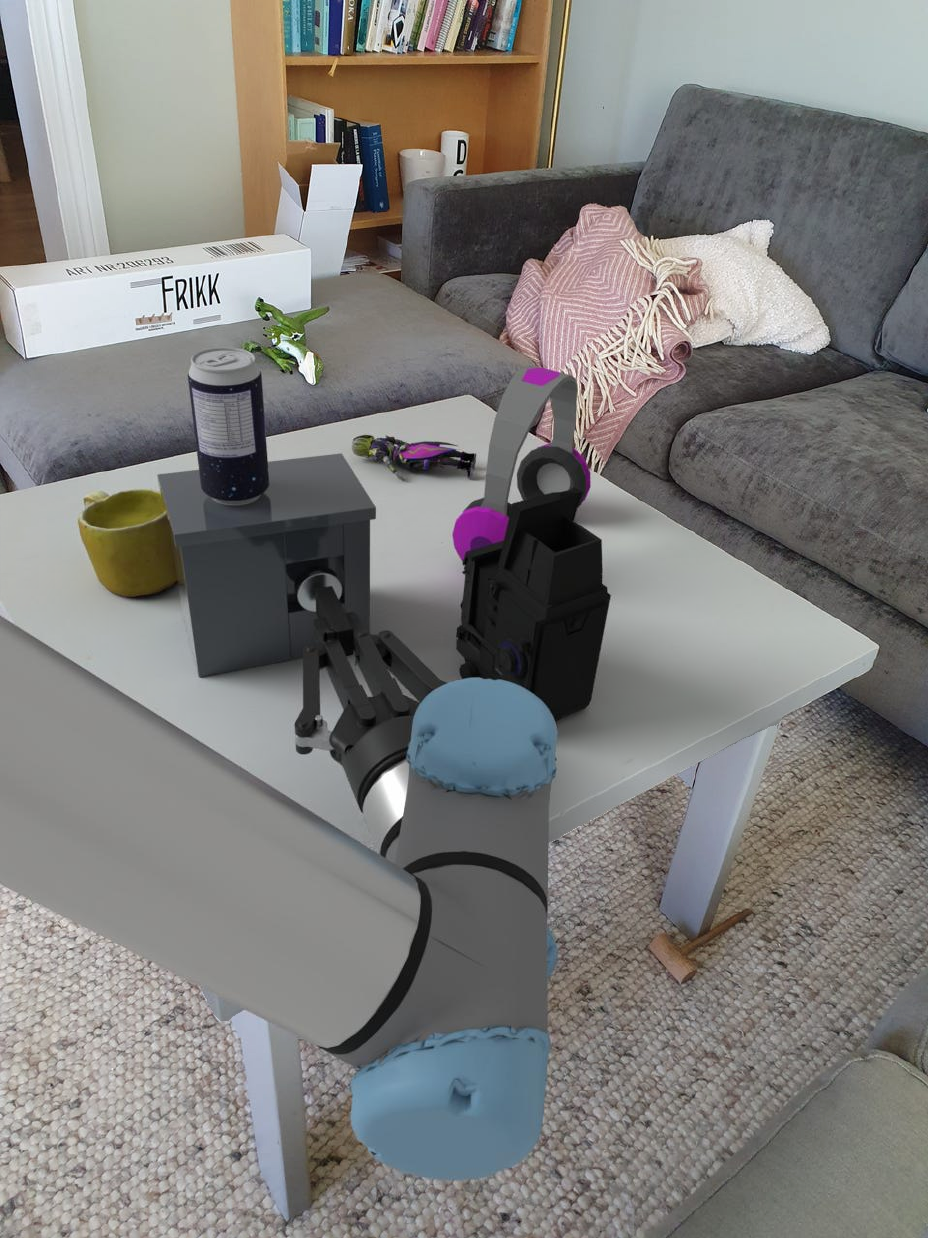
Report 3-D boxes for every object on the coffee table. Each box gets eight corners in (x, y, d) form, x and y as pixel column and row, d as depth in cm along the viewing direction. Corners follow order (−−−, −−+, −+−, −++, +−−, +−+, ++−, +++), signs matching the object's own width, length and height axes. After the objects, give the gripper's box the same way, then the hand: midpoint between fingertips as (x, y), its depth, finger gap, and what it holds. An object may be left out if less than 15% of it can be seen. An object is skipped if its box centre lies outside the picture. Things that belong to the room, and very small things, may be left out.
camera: (514, 629, 91) (535, 443, 79) (603, 708, 82) (642, 512, 70) (429, 659, 86) (438, 467, 74) (513, 747, 77) (540, 544, 66)
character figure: (477, 460, 122) (359, 441, 122) (480, 434, 119) (360, 415, 120) (467, 493, 114) (342, 472, 115) (470, 466, 112) (343, 445, 113)
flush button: (298, 615, 81) (296, 577, 78) (294, 606, 82) (292, 569, 79) (342, 607, 82) (341, 570, 80) (338, 599, 83) (337, 562, 81)
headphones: (517, 596, 96) (538, 417, 84) (443, 570, 99) (454, 394, 87) (590, 514, 111) (617, 353, 99) (525, 494, 114) (543, 336, 102)
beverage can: (283, 495, 79) (275, 359, 72) (229, 517, 75) (215, 377, 68) (242, 472, 82) (230, 340, 75) (188, 492, 78) (170, 356, 71)
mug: (221, 568, 93) (173, 486, 87) (132, 625, 90) (76, 543, 84) (181, 535, 102) (135, 458, 96) (99, 585, 99) (46, 509, 93)
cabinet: (194, 681, 82) (173, 534, 73) (177, 613, 90) (157, 474, 81) (375, 647, 87) (376, 507, 78) (344, 586, 95) (341, 452, 86)
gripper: (320, 853, 62) (251, 647, 79) (496, 806, 66) (394, 621, 84) (317, 774, 58) (245, 575, 75) (506, 730, 62) (396, 552, 79)
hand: (324, 600), depth 79 cm, fingers closed
